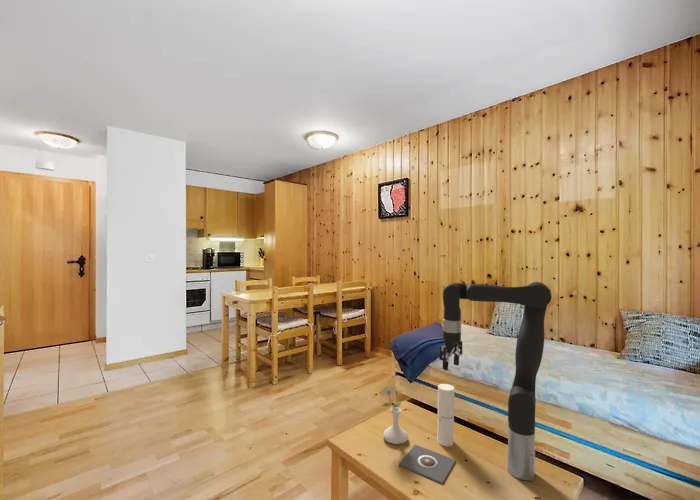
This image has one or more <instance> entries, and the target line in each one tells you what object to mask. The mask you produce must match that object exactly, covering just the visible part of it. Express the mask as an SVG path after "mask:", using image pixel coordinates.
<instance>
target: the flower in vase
mask: <svg viewBox="0 0 700 500" xmlns="http://www.w3.org/2000/svg"><path fill="white" fill-rule="evenodd" d="M395 393H397V388H396V386H395V385H393V384H391V385H390V384H389V385H385V386H384V387H383V388H381V390H380V392H379V394H380V396H381V397H382V398H383V397H384V398H386V397H387V398H388V397H389V402H390V403H389V402H385V403H383V404H382V405H381V407H387V408H388V407H390V406H391V407H390V412H391V413H392V425H391V426H389V427H386V429H385V430H384V431H383V434H382V436H383V439H384V440H385V441H386V442H388V443H390V444H394V445H402V444H404V443H406V442H407V441H408V439H409V436H408V433H407V431H406V430H405V429H404V428H402V427H401V426H400V425H399V417H400V414H401V412H402V408H400V405H401V403H402V402H401V401H402V400H399V401H397V402H395V403H394V405H393V404H392V400H391V396H393V395H395Z"/></svg>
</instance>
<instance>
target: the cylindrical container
mask: <svg viewBox="0 0 700 500" xmlns="http://www.w3.org/2000/svg"><path fill="white" fill-rule="evenodd" d="M436 426H437V433H436V436H437V438H436V441H437V443H438V444H439V445H441V446H443V447H452V446H453V445H454V435H455V432H454V431H455V429H454V428H455V387H454V386H453V385H452V384H449V383H439V384H438V385H437V425H436Z"/></svg>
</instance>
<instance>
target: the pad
mask: <svg viewBox="0 0 700 500" xmlns="http://www.w3.org/2000/svg"><path fill="white" fill-rule="evenodd" d="M456 461H457V460H456V459H455V458H451V457H449V456H446V455H443V454H442V453H438V452H436V451H433V450H431V449H428V448H425V447H423V446H420V445H418V444H414V445H413V446H412V448H411V449H410V450H409V451H408V452H407V454H406V455H405V456H404V457H403V459H401V461H400V462H399V463H398V466H399V467H402V468H404V469H406V470H408V471H411V472H413V473H416V474H417V475H420V476H422V477H424V478H427V479H429V480H432V481H434V482H437V483H438V484H441V485H444V483H445V480H446V479H447V477H448V476H449V473H450V472H451V471H452V469H453V467H454V466H455V463H456Z"/></svg>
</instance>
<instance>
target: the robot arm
mask: <svg viewBox="0 0 700 500" xmlns="http://www.w3.org/2000/svg"><path fill="white" fill-rule="evenodd" d="M552 298H553V297H552V292H551V290H550V288H549V286H547V285H546V284H545V283H543V282H540V281H534V282H531V283H528V285H523V286H503V285H495V284H484V283H483V284H482V283H481V284H480V283H479V284H478V283H476V284H475V283H472V284H470V283H461V282H451V283H449V284H446V286H444V288H443V290H442V301H443V321H442V341H443V342H444V345H440V346H439V355H438V356H439V357H438V358H439V360H440V361H442V370H444V371H448V370H449V359H450V358H451V357H452V355H453V365H455V366H459V365H460V357H461V356H462V355H463V341H462V321H461V320H462V309H461V306H460V300H469V301H472V302H487V303H489V302H490V303H507V304H516V305H522V306H523V316H522V319H521V323H520V326H519V330H518V335H517V339H516V346H515V358H514V359H515V362H514V363H515V373H514V378H513V382H512V386H511V389H510V391H509V396H508V400H507V401H508V402H507V403H508V404H507V421H508V422H507V423H508V424H507V425H508V429H507V430H508V431H507V433H508V434H507V436H508V437H507V440H508V441H507V471H508V473H509V474H510V475H511V476H513V477H514V478H516V479H519V480H522V481H531V482H534V478H535V473H536V472H535V471H536V469H535V468H536V464H535V463H536V448H535V438H536V436H535V435H536V382H537V374H538V372H539V369H540V366H541V363H542V359H543V354H544V347H545V317H546V311H547V307H548V305H549V304H550V303H551V301H552Z"/></svg>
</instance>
